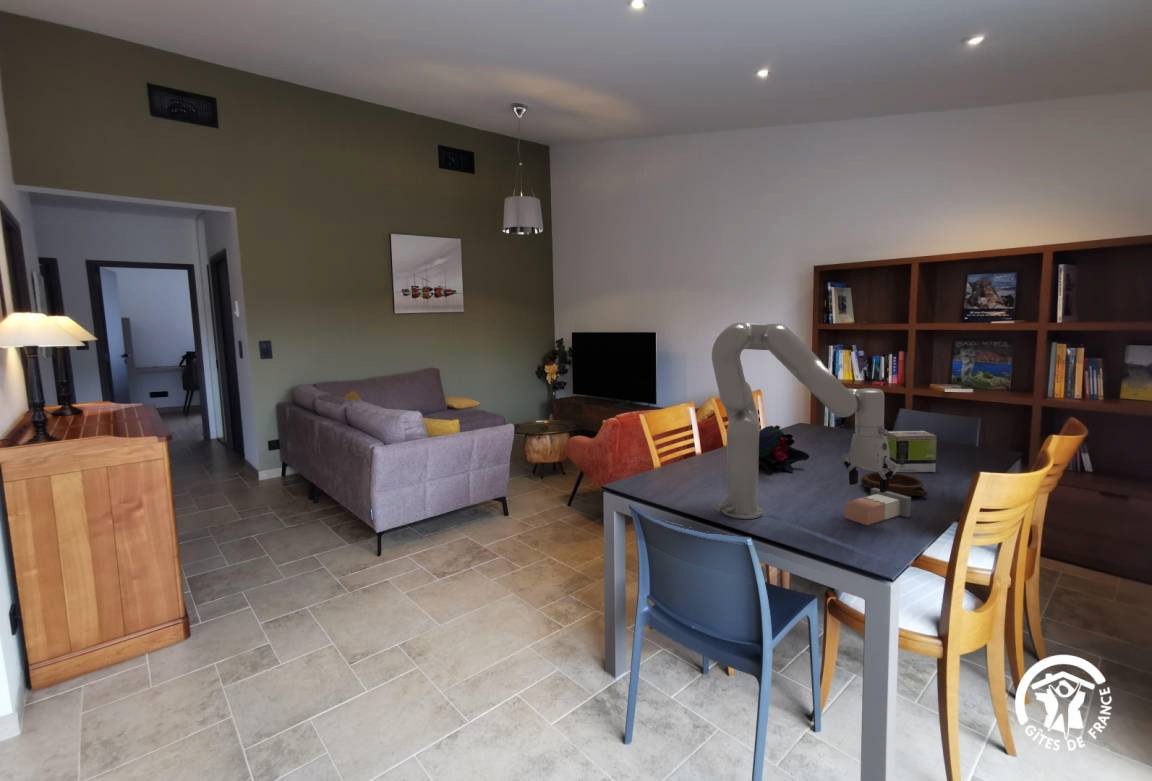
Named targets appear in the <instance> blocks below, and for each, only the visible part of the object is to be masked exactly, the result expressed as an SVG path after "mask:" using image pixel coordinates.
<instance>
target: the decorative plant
mask: <svg viewBox="0 0 1152 781" xmlns="http://www.w3.org/2000/svg"><path fill="white" fill-rule="evenodd" d="M793 437H794V435H792V434H790V433H787V434H785V433H784V432H783V431H782V430H781V426H780V425H777V424H776V425H774V426H773V425H768V426H765V427H763V428H762V429H759V461H758V465H759V466H761V467H763V469H765V471H767V473H768V474H769V473H772V474H773V473H774V468H776V469H780V470H783V471H785V472H788V473H790V472H791V473H793V471H794V468H793V466H792V464H794V463H797V462H803V461H807V460H809V458H810V455H809V453H807V452H806V451H803V450H799V449H797V448H795V447H792V445H794V443H795V440H794V439H793Z"/></svg>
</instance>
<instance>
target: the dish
mask: <svg viewBox="0 0 1152 781" xmlns="http://www.w3.org/2000/svg"><path fill="white" fill-rule="evenodd" d="M880 479H882V477H881V476H880V474H879V473H878V472H877V471H874V472H868V473H865V474H864V475H863V477H861V478H860V483H861V484H862V485H865V486H867V488H868V489H869V491H871V489H872V488H878V489H880ZM923 486H924V482H923V481H922V480H921V479H919V478H917V477H916V476H913V475H907V474H903V473H898V472H896V473H895V474H894V475H893V476H892V477H891V478H889V490H888V491H889V492H893V493H896V494H900V495H904V496H908V497H913V496H918V497H927V495H928V490H926V489H925V488H923Z"/></svg>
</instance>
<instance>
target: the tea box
mask: <svg viewBox="0 0 1152 781" xmlns="http://www.w3.org/2000/svg"><path fill="white" fill-rule="evenodd" d="M887 431H888V432H887V434H885V436H886V437H887V440H888V445H889V453H890V460H891V461H893V462H894V463H896V464H897V465H898V466H899V468H898V470H897V471H896V473H936V470H937V468H936V466H937V442H938V441H937V440H938V439H937V438H938V435H937V434H936V435H935V434H934V433H931V432H928V431H926V430H895V431H894V430H891V431H889V430H887ZM890 469H891V467H890V468H889V469H888V470H890Z"/></svg>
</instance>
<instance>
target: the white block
mask: <svg viewBox="0 0 1152 781" xmlns="http://www.w3.org/2000/svg"><path fill="white" fill-rule="evenodd" d="M864 498H867V499H871V500H874V501H878V502H882V503H884V504H885V509H884V520H883V521H885V520H889V519H892V518H894V517H898V516H901V517H904V518H909V517H911V507H912V506H911V505H912V496H909V497H908V496H904V495H900V494H896V493H893V492H889V491H887V492H883V493H881V492H880V489H878V488H872V489H871V490H870V495H868V496H864Z"/></svg>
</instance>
